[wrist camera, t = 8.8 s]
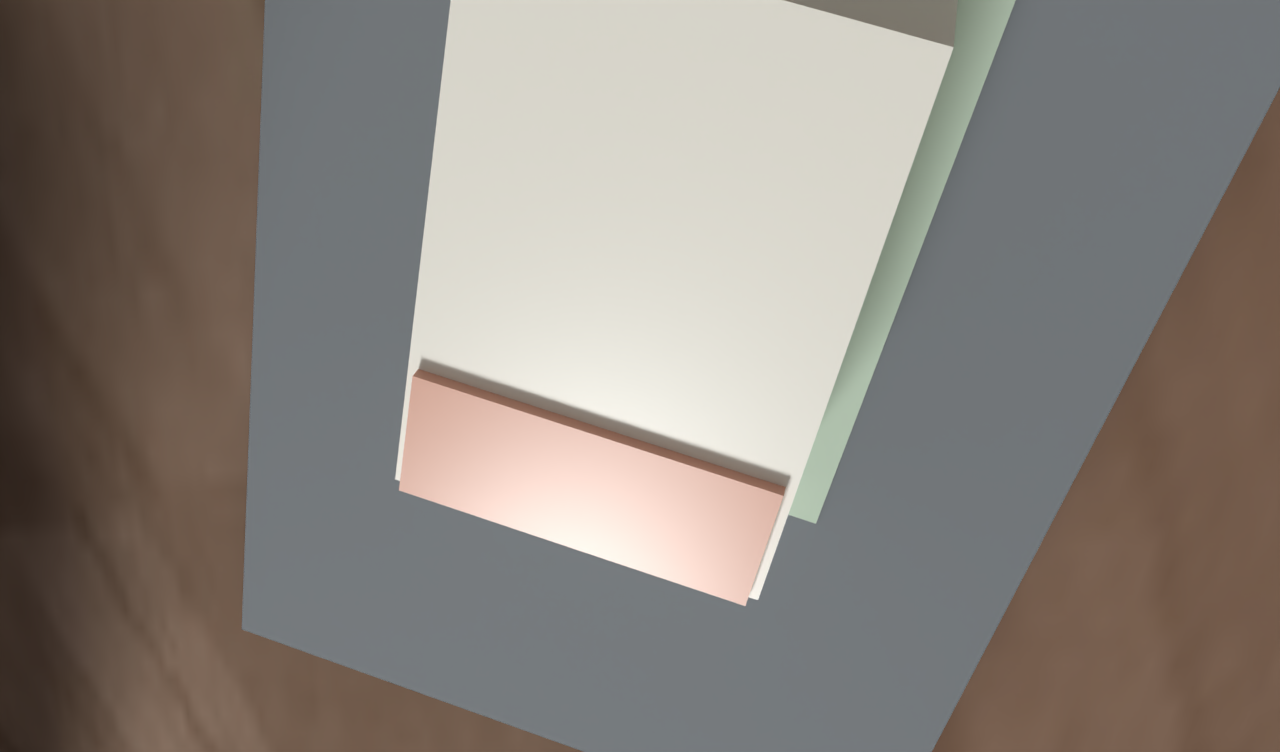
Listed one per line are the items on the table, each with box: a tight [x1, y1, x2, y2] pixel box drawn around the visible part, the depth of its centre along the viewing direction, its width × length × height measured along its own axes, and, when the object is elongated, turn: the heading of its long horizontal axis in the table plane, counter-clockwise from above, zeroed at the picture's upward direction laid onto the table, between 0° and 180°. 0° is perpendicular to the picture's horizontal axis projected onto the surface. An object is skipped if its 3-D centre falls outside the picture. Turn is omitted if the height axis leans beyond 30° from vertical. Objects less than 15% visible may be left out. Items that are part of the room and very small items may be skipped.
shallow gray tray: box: [242, 0, 1280, 752], centre depth 20 cm, size 18×14×1 cm
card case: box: [395, 0, 958, 606], centre depth 16 cm, size 8×6×4 cm
